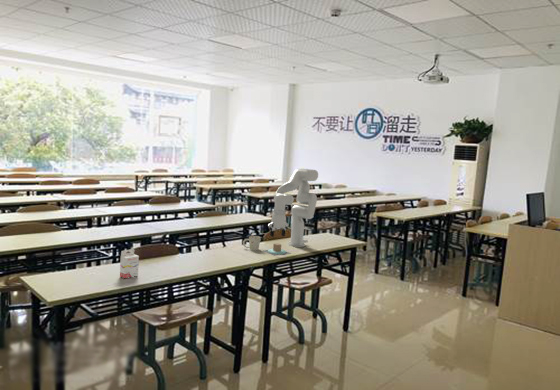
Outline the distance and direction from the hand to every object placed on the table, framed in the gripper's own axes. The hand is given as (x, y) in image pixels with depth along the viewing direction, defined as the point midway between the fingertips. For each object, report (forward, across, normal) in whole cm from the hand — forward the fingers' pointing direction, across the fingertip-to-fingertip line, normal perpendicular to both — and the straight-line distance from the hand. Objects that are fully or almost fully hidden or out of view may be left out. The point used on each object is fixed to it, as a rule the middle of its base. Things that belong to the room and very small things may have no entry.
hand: (277, 236), depth 316 cm
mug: (+13, +12, -14) cm, 23 cm away
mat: (+13, -1, 0) cm, 13 cm away
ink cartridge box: (+16, +107, +12) cm, 109 cm away
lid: (+12, -1, 0) cm, 12 cm away
